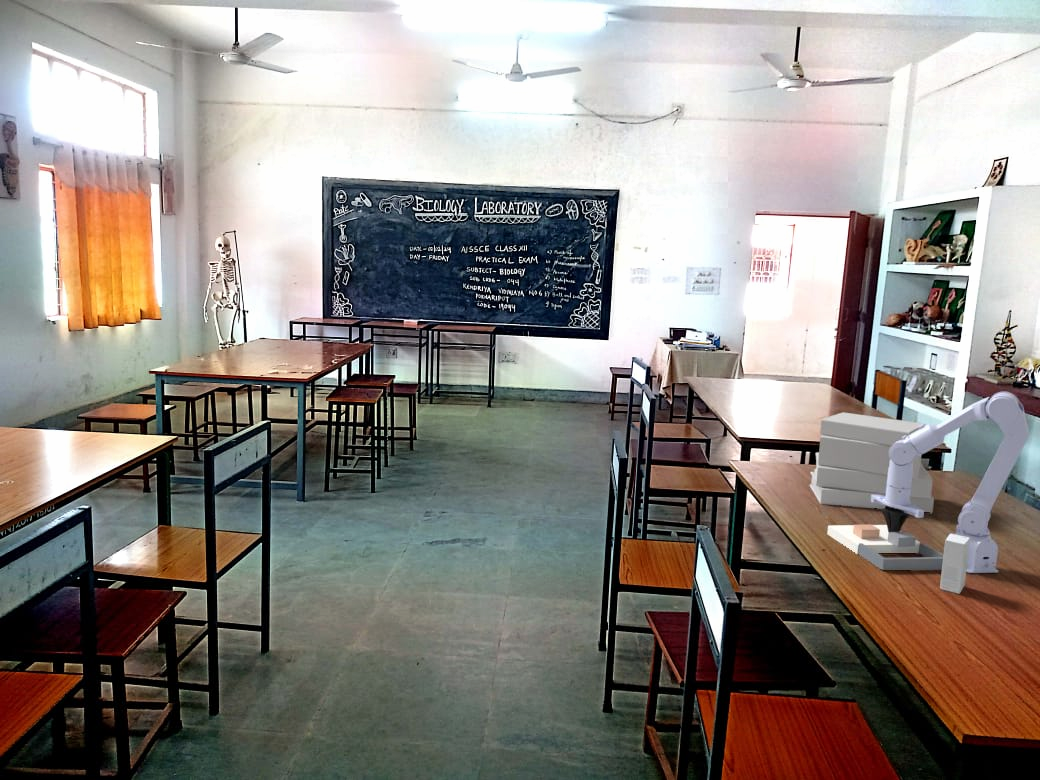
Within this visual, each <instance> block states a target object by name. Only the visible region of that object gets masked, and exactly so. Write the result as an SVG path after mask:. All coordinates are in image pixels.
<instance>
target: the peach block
mask: <svg viewBox="0 0 1040 780" xmlns="http://www.w3.org/2000/svg"><path fill="white" fill-rule="evenodd" d="M853 525H854V527H853V534H854V535H856V536H857V537H859V538H861V539H879V533H880V529H878V528H876V527H875V526H873V525H874V524H853Z"/></svg>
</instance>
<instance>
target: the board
mask: <svg viewBox="0 0 1040 780" xmlns="http://www.w3.org/2000/svg"><path fill="white" fill-rule="evenodd" d="M854 525H855V524H853V525H849V524H848V525H847V524H845V525H843V524H841V525H840V524H839V525H838V524H837V525H835V524H834V525H828V526H827V533H826V534H827V535H828V536H830V537H831V538H832V539H833V540H835V541H837V542H838V543H839V544H841V545H842V544H843V545H842V546H844V547H845V546H846V548H847V549H848V548H849V549H848V550H850V551H851V550H852V552H853V553H854V552H855V553H854V554H856V555H858V548H859V543H862V544H864V545H865V546H867V547H868V548H870V549H872V550H873V551H875V552H876V553H916V554H919V545H920V541H918V540H917V539H916V542H915V546H909V547H897V546H895V545H893V544H891V543H890V542H888V528H887V524H872V525H873V526H875V527H876V528H878V529H880V533H879V539H861V538H859V537H857V536H856V535H854V534H853V527H854ZM900 532H902V531H901V530H900Z"/></svg>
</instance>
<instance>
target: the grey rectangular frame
mask: <svg viewBox="0 0 1040 780" xmlns="http://www.w3.org/2000/svg"><path fill="white" fill-rule="evenodd" d="M919 542H920V541H919ZM919 553H920V554H922V555H923V556H922V555H921V556H922V557H884V556H883V555H882V554H878V553H876V552H875V551H873V550H872V549H870V548H868V547H867V546H865V545H864V544H862V543H859V548H858V554H859V555H860V556H859V555H858V554H857V555H858V556H859V557H861V556H862V557H864V558H865V559H867V560H868V561H870V562H871V563H872V565H873V564H874V565H875V566H874V565H873V566H874V567H876V566H877V567H879V568H880V569H882V570H911V571H942V565H943V556H944V553H943V552H941V551H939V550H937V549H936V548H933V547H931V546H930V545H928V544H927V543H925V542H922V541H921V542H920V545H919ZM919 553H918V554H919ZM920 554H919V555H920ZM924 556H925V557H924ZM862 557H861V558H862ZM864 558H863V559H864ZM865 559H864V560H865ZM867 560H866V561H867ZM868 561H867V562H868ZM870 562H869V563H870ZM871 563H870V564H871ZM877 567H876V568H877ZM879 568H878V569H879ZM880 569H879V570H880ZM882 570H881V571H882Z"/></svg>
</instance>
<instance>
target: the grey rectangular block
mask: <svg viewBox="0 0 1040 780" xmlns="http://www.w3.org/2000/svg"><path fill="white" fill-rule="evenodd" d="M916 540H917V537H916V535H913V534H912V533H909V532H907V531H901V532H888V542H890V543H891V544H893V545H895V546H897V547H909V546H915V542H916Z"/></svg>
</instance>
